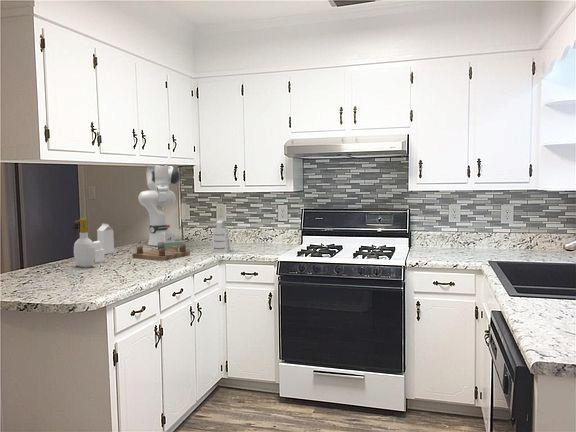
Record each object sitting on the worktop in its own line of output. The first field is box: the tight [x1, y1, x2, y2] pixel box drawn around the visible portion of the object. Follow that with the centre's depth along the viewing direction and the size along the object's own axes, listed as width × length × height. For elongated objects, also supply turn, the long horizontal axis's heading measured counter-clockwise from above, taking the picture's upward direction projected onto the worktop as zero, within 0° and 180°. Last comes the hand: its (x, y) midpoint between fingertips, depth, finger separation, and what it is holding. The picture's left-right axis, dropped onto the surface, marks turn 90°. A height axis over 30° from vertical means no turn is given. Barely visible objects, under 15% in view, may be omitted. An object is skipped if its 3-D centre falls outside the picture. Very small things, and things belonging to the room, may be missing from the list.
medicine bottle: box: [91, 240, 106, 264], centre depth 275 cm, size 7×7×12 cm
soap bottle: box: [73, 218, 95, 268], centre depth 260 cm, size 14×9×26 cm, turn 59°
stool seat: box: [131, 244, 191, 262], centre depth 293 cm, size 24×24×6 cm
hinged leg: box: [157, 240, 186, 249], centre depth 309 cm, size 17×4×4 cm, turn 121°
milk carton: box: [96, 223, 115, 255], centre depth 305 cm, size 7×7×19 cm
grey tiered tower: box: [210, 220, 232, 254], centre depth 311 cm, size 10×10×20 cm
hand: (162, 209), depth 315 cm, fingers open, 8 cm apart
